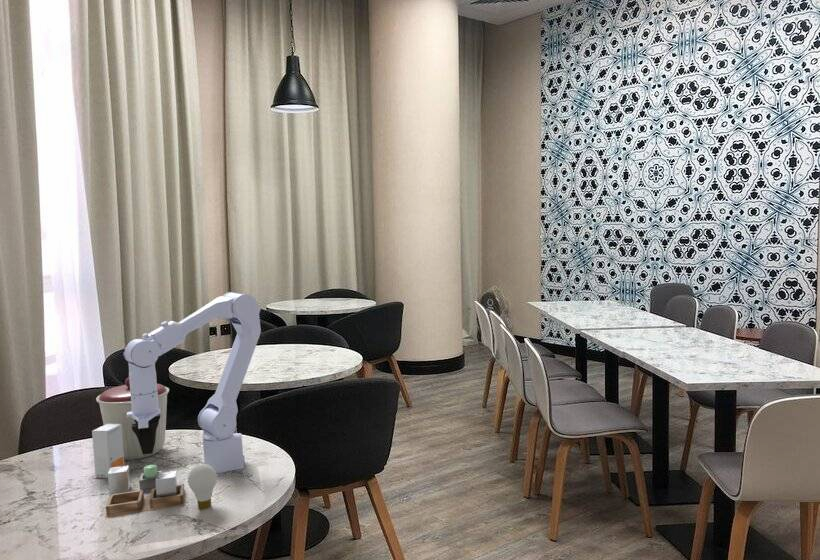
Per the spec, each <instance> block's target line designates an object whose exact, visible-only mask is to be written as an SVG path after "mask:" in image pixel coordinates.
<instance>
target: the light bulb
mask: <svg viewBox="0 0 820 560" xmlns="http://www.w3.org/2000/svg"><path fill="white" fill-rule="evenodd" d="M217 474H218V473H216V471H215V470H214V468H213V467H211V466H209V465H207V464H204V463H202V464H197V465H196V466H194V467H193V468H192V469H191V470H190V472H189V474H188V476H187V485H188V487H189V488H190V490H191V491H192V492H193V493H194V496H195V499H196V500H197V501H196V502H197V508H198V509H199V510H207V509H209V508H211V506H212V496H213V491H214V488H215V486H216V484H217V483H218V482H217V481H218V475H217Z"/></svg>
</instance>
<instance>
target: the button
mask: <svg viewBox="0 0 820 560" xmlns="http://www.w3.org/2000/svg"><path fill="white" fill-rule="evenodd" d="M157 467H158V466H157V464H149V465H145V466H144V467H143V473H144V478H145V479H147V478H154V477H156V475H157V471H158V468H157Z"/></svg>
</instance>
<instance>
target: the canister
mask: <svg viewBox="0 0 820 560" xmlns="http://www.w3.org/2000/svg"><path fill="white" fill-rule="evenodd" d="M157 391H158V404H159V409H160V413H159V414H160V415H161V416H160V419H159V424H158V427H157V430H156V440H155V446H154V449H153V453H151V454H143V453H142V450H141V447H140V444H139V441H138V438H137V436H136V434H135V433H134V432H133V430H132V424H136V422H135V421H134V420H135V419H134V418H133V417H127V412H132V405H131V394H130V382H129V376H128V377H127V378H125V381H124V384H123V385H118V386H114V387H111V388H108V389H106V390H103V392H102V393H100V394H99V395H97V397H95V400H96V402H97V403H98V404H99V408H100V414H101V418H102V423H103V426H104V425H106V424H121V425H122V438H123V452H124V461H126V460H127V461H128V460H133V461H134V460H138V459H144V458H148V457H151V456H153V455H156V454H157V453H159V452H161V450H162V449H163V448H164V445H165V442H166V441H165V440H166V429H167V428H166V426H167V410H168V409H167V405H168V393H169V392H170V388H169V387H167V386H165V385H163V384H161V383H157Z"/></svg>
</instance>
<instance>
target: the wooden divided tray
mask: <svg viewBox="0 0 820 560" xmlns="http://www.w3.org/2000/svg"><path fill="white" fill-rule="evenodd" d="M177 490H178V495H174V496H167V497H160V498H157V494H156V488H152V490H150V495H145V494H144V491H143V490H140V489H139V490H133V491H129V492H124V493H118V494H111V495H110V494H109V496H108V499H107V502H106V506H105V516H104V517H105V518H109V517H115V516H119V515H128V514H134V513H139V512H140V513H141V512H146V511H153V510H160V509H168V508H174V507H179V506H185V503H186V502H185V501H186V489H185V484H184V483H180V484H177Z"/></svg>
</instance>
